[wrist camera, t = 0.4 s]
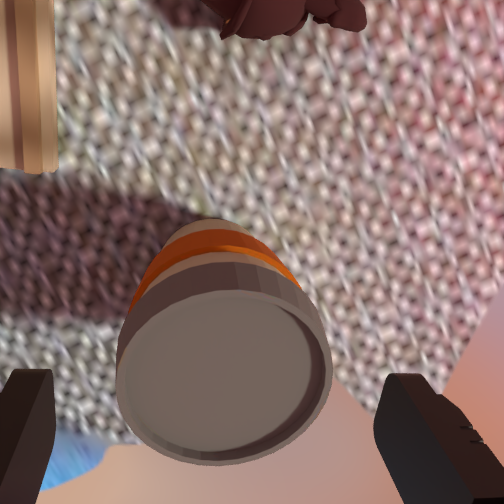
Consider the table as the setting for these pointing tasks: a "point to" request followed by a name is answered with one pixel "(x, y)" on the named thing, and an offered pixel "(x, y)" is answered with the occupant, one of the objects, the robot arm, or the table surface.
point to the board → (28, 86)
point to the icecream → (285, 16)
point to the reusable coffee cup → (220, 350)
